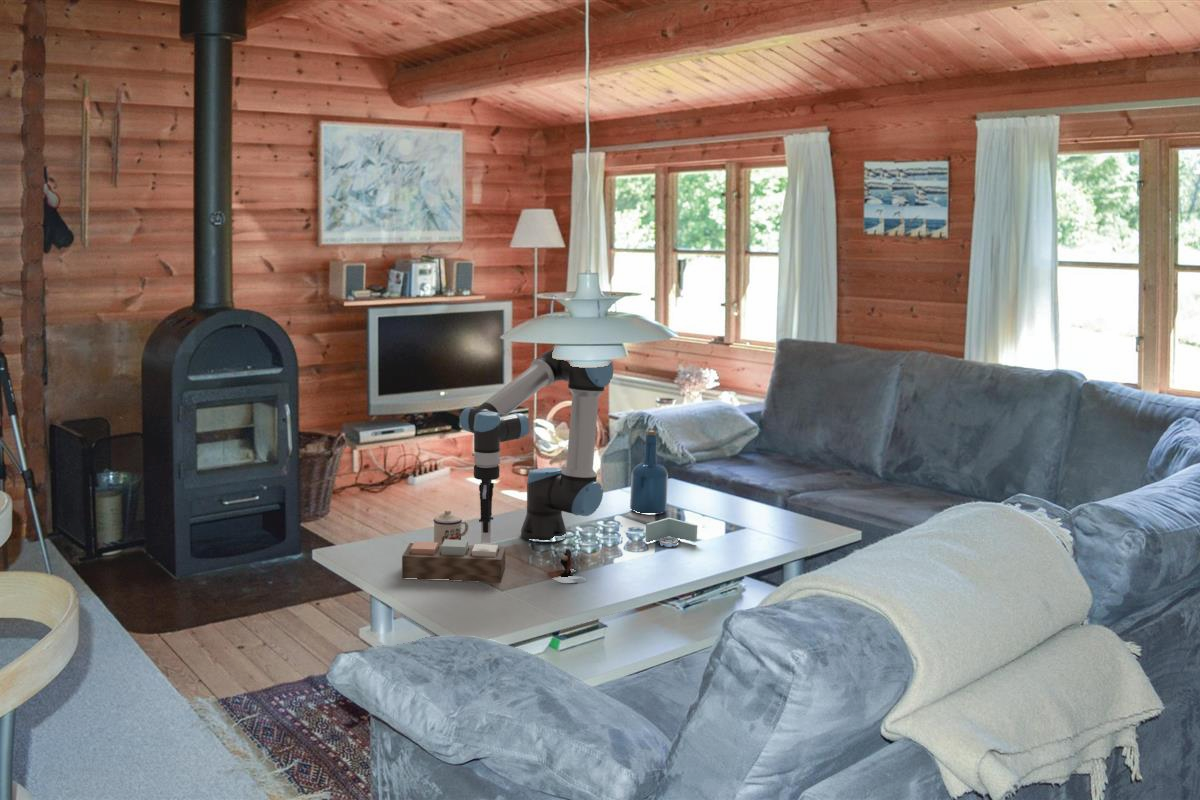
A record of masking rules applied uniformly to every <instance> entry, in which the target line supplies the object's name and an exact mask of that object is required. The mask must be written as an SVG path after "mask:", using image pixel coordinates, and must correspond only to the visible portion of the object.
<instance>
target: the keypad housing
mask: <svg viewBox="0 0 1200 800" xmlns="http://www.w3.org/2000/svg"><path fill="white" fill-rule="evenodd" d="M413 544H414V542H409V544H408V546H407V548H406V549H405V551H404V553H403V554H402V556H401V558H402V559H401V579H402V578H417V579H449V580H462V581H461V582H468V581H479V582H478V583H499V584H501V583H502V580H503V577H504V574H505V570H506V546H503V545H502V546H501V545H498V555H497V557H488V556H472V550H473V547H474V545H475V544H474V545H472V544H468V553H467V555H466V556H461V555H441V546H442V544H438V551H437V553H436V555H434V554H411V547H412V546H413Z"/></svg>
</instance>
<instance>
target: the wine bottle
mask: <svg viewBox="0 0 1200 800" xmlns="http://www.w3.org/2000/svg"><path fill="white" fill-rule="evenodd" d="M657 438H658V437H657V434H656V431H655V430H651V429H650V430H647V434H646V436H645V440H644V441H645V442H644V444H645V445H644V447H645V448H644V456H643V457H644V458H643V462H640V463H638V464H637V465H635V466H634V467H633V469H632V471H631V474H630V475H631V478H630V500H629V501H630V503H629V508H630V510H631V509H632V510H635V511H637V512H640V513H661V512H664V511H665V510H666V511H667V508H668V507H667V504H668V486H669V485H668V482H669V481H668V480H669V479H668V478H669V473H668V470H667V468H666V467H665V465H664V464H663V463H662V462H660V461H658V460H657V444H658V439H657ZM632 510H631V511H632ZM666 511H665V512H666ZM665 512H664V513H665Z"/></svg>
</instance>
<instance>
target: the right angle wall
mask: <svg viewBox="0 0 1200 800" xmlns="http://www.w3.org/2000/svg"><path fill="white" fill-rule="evenodd" d="M667 536H671V537H675V538H680V539H686V540H691V541H697V542H698V524H694V523H690V522H688V521H684V520H679V519H677V518H673V517H666V518H663V519H662V518H661V519H660V520H655V521H652V522H648V523H646V524H645V540H644V542H645V541H646V542H650V541H653V540H657V539H660V538H663V539H661V540H659V542H661V543H662V544H664V543H665V544H677V543H679V544H680V542H678V541H680V540H678V539H674V538H664V537H667ZM665 540H672V541H673V540H674V542H673V543H670V542H664V541H665ZM659 542H658V543H659Z"/></svg>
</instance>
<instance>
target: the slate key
mask: <svg viewBox="0 0 1200 800" xmlns="http://www.w3.org/2000/svg"><path fill="white" fill-rule="evenodd" d="M468 545H469V540H468V539H461V540H450V539H445V540H444V542H443V544H442V546H441V555H461V556H466V555H467V553H468Z"/></svg>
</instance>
